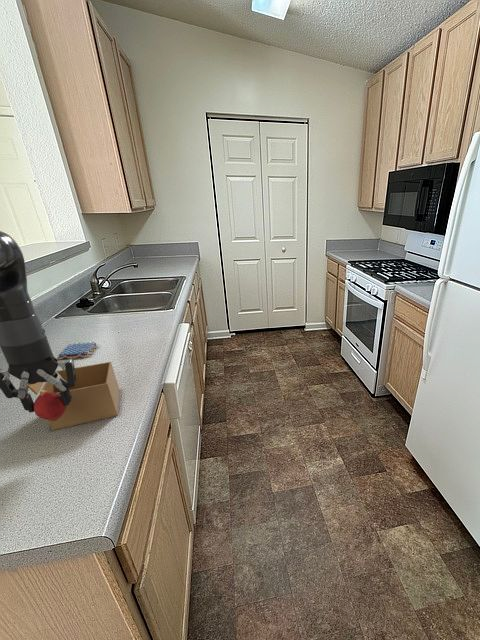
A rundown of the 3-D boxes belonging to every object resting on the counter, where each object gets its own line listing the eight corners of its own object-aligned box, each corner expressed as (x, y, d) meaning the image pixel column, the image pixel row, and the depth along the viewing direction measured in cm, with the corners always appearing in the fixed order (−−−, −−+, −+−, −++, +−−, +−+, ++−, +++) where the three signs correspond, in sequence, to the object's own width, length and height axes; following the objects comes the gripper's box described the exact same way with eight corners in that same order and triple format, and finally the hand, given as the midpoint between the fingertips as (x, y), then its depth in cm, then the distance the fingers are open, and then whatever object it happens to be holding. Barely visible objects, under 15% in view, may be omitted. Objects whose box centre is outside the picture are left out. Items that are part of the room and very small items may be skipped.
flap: (37, 394, 79) (36, 394, 79) (50, 369, 90) (48, 370, 90) (13, 371, 75) (11, 372, 75) (29, 348, 86) (28, 349, 86)
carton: (52, 430, 84) (37, 397, 79) (62, 402, 95) (50, 372, 90) (117, 415, 89) (107, 383, 84) (119, 390, 100) (111, 361, 96)
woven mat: (57, 360, 120) (55, 355, 119) (69, 348, 129) (67, 343, 128) (89, 357, 121) (87, 352, 120) (98, 346, 131) (97, 341, 130)
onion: (61, 410, 79) (49, 380, 75) (76, 416, 77) (65, 386, 73) (34, 423, 74) (21, 393, 71) (50, 430, 72) (37, 399, 68)
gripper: (-32, 350, 61) (5, 424, 68) (61, 338, 66) (85, 408, 73) (-16, 336, 67) (16, 405, 74) (67, 326, 72) (89, 391, 80)
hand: (50, 406), depth 74 cm, fingers closed on onion, 6 cm apart
